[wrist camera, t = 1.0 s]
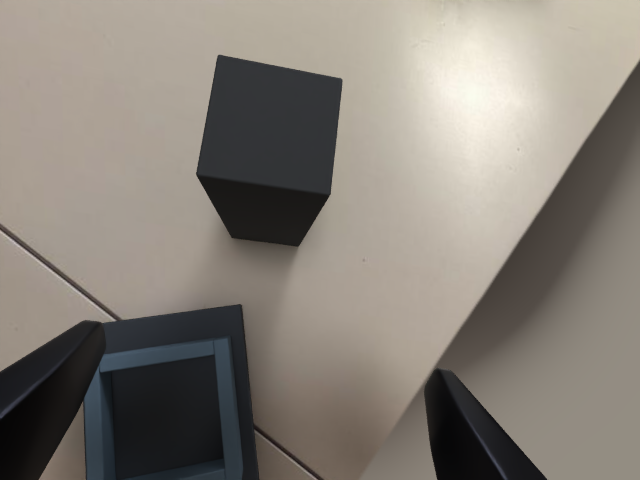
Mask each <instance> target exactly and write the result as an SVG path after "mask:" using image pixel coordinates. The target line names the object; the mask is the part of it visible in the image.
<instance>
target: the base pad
mask: <svg viewBox="0 0 640 480" xmlns="http://www.w3.org/2000/svg"><path fill="white" fill-rule="evenodd" d="M102 324H103V326H104V332H105V338H106V350H105V353H104V355H103V357H102V359H101V362H100V364H99V366H98V368H97V371H96V373H95V375H94V377H93V380H92V382H91V384H90V386H89V388H88V391H87V393H86V395H85V397H84V400H83V409H84V437H85V466H86V480H259V473H258V463H257V453H256V444H255V434H254V424H253V414H252V404H251V394H250V384H249V374H248V364H247V354H246V344H245V334H244V324H243V314H242V305H241V304H239V305H231V306H224V307H217V308H210V309H202V310H195V311H188V312H180V313H173V314H166V315H158V316H151V317H144V318H137V319H129V320H122V321H115V322H107V323H102Z"/></svg>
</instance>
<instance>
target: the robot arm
mask: <svg viewBox="0 0 640 480" xmlns="http://www.w3.org/2000/svg"><path fill="white" fill-rule="evenodd" d="M105 350H106V338H105V332H104V326H103V324H102V323H101V322H98V321H90V320H85V321H82V322H80V323H78V324H77V325H75V326H74V327H72V328H70V329H69V330H67V331H65V332H64V333H62V334H61V335H59V336H57V337H56V338H54V339H52V340H51V341H49V342H48V343H46V344H44V345H43V346H41V347H39V348H38V349H36V350H35V351H33V352H31V353H30V354H28V355H27V356H25V357H23V358H22V359H20V360H18V361H17V362H15V363H14V364H12V365H10V366H9V367H7V368H5V369H4V370H2V371H1V372H0V480H39V478H40V476H41V475H42V473H43V471H44V469H45V468H46V466H47V464H48V462H49V461H50V459H51V457H52V456H53V454H54V452H55V450H56V449H57V447H58V445H59V444H60V442H61V440H62V438H63V437H64V435H65V433H66V431H67V430H68V428H69V426H70V425H71V423H72V421H73V419H74V418H75V416H76V414H77V412H78V410H79V408H80V406H81V404H82V402H83V400H84V397H85V395H86V393H87V391H88V388H89V386H90V384H91V382H92V380H93V377H94V375H95V373H96V371H97V368H98V366H99V364H100V362H101V359H102V357H103V355H104V353H105ZM424 396H425V405H426V413H427V423H428V431H429V440H430V446H431V452H432V458H433V462H434V467H435V471H436V476H437V480H547V479H546V478H545V476H544V475H543V474H542V473H541V472H540V471H539V470H538V468H537V467H536V466H535V465H534V464H533V463H532V462H531V460H530V459H529V458H528V457H527V456H526V455H525V454H524V452H523V451H522V450H521V449H520V448H519V447H518V446H517V444H516V443H515V442H514V441H513V440H512V439H511V438H510V437H509V435H508V434H507V433H506V432H505V431H504V430H503V429H502V427H501V426H500V425H499V424H498V423H497V422H496V421H495V419H494V418H493V417H492V416H491V415H490V414H489V413H488V412H487V410H486V409H485V408H484V407H483V406H482V405H481V404H480V402H479V401H478V400H477V399H476V398H475V397H474V396H473V395H472V393H471V392H470V391H469V390H468V389H467V388H466V387H465V385H464V384H463V383H462V382H461V381H460V380H459V379H458V377H457V376H456V375H454V373H453V372H452V371H451V370H449V369H441V368H436V369H435V370H434V371H433V373H432V374H431V376H430V378H429V380H428V381H427V383H426V385H425V388H424Z"/></svg>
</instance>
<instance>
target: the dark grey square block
mask: <svg viewBox="0 0 640 480" xmlns="http://www.w3.org/2000/svg"><path fill="white" fill-rule="evenodd" d="M342 82H343V81H342V79H341V78H336V77H331V76H326V75H320V74H315V73H310V72H305V71H300V70H295V69H290V68H284V67H279V66H274V65H269V64H264V63H259V62H254V61H248V60H243V59H238V58H233V57H228V56H223V55H218V57H217V62H216V68H215V73H214V79H213V84H212V90H211V95H210V101H209V106H208V112H207V117H206V123H205V128H204V134H203V139H202V145H201V150H200V156H199V161H198V167H197V172H196V175H197V177H198V179H199V181H200V182H201V184H202V186H203V188H204V189H205V191H206V193H207V195H208V196H209V198H210V200H211V202H212V204H213V205H214V207H215V209H216V211H217V212H218V214H219V216H220V218H221V219H222V221H223V223H224V225H225V227H226V228H227V230H228V232H229V234H230V235H231V237H232V238H238V239H245V240H253V241H261V242H268V243H276V244H284V245H291V246H299V245H300V243H301V242H302V240H303V239H304V237H305V235H306V234H307V232H308V230H309V229H310V227H311V225H312V224H313V222H314V220H315V219H316V217H317V216H318V214H319V212H320V211H321V209H322V207H323V206H324V204H325V202H326V201H327V199H328V197H329V196H330V194H331V185H332V175H333V166H334V156H335V147H336V138H337V128H338V119H339V110H340V100H341V91H342Z"/></svg>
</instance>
